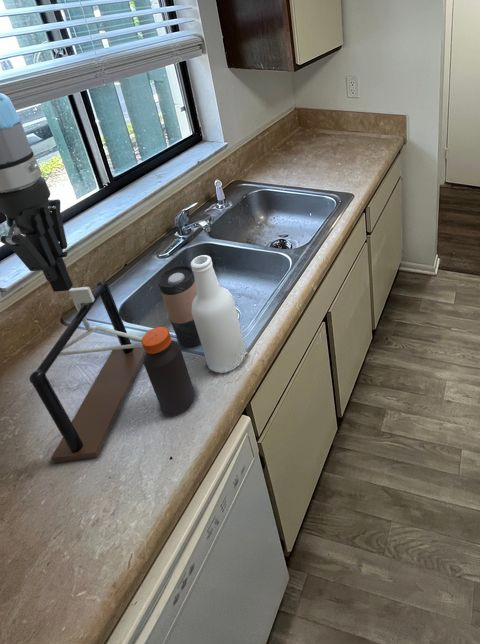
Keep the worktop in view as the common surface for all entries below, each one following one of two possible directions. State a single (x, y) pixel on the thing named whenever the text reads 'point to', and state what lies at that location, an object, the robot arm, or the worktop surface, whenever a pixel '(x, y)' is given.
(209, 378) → the worktop surface
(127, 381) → the rail
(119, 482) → the worktop surface
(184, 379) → the bottle
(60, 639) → the worktop surface
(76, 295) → the hanger
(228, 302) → the alcohol
